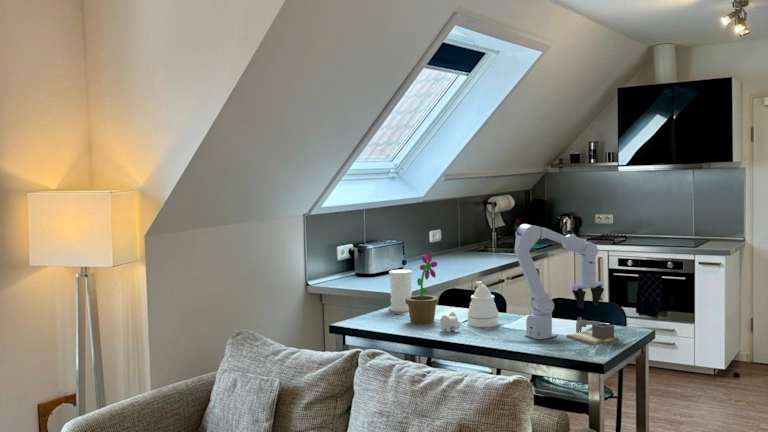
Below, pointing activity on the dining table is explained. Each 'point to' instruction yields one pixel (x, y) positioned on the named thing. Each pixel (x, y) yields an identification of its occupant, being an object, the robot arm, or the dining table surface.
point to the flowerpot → (423, 297)
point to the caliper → (584, 324)
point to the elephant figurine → (449, 323)
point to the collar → (603, 331)
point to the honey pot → (482, 308)
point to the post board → (589, 337)
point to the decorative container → (400, 289)
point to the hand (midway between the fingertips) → (588, 306)
